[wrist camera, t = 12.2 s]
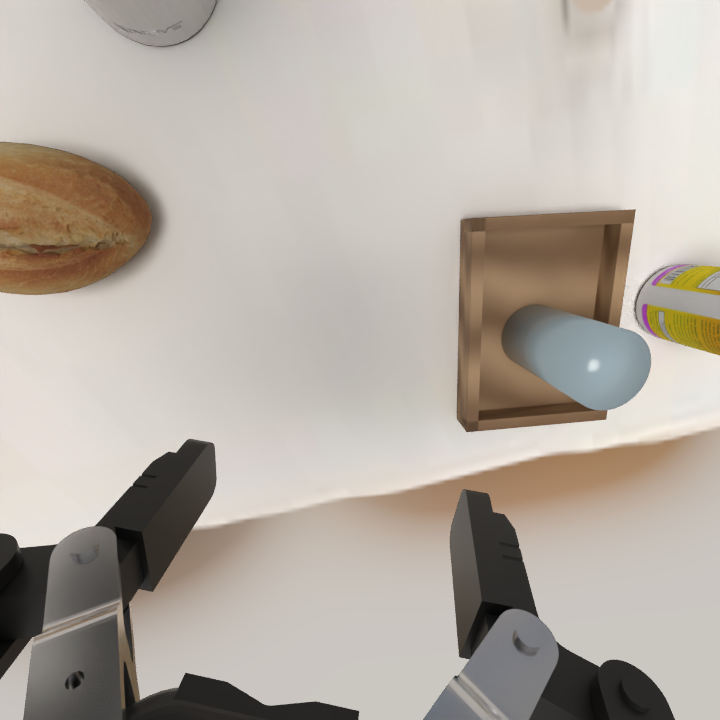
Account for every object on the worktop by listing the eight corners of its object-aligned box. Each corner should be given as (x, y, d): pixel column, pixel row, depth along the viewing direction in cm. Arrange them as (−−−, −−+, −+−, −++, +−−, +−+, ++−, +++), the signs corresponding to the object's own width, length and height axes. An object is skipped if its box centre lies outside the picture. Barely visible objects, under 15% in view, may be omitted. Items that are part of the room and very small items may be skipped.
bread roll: (171, 283, 33) (126, 298, 25) (-25, 290, 32) (-134, 307, 24) (150, 153, 30) (92, 125, 22) (-66, 155, 29) (-204, 127, 21)
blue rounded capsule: (502, 307, 35) (573, 334, 25) (563, 301, 35) (656, 324, 26) (501, 368, 36) (567, 415, 27) (560, 361, 37) (645, 404, 27)
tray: (460, 219, 33) (473, 218, 31) (611, 211, 34) (635, 209, 31) (456, 418, 39) (466, 432, 36) (586, 407, 40) (606, 419, 37)
